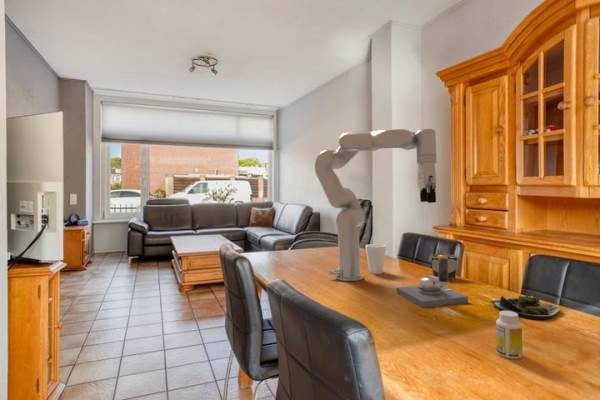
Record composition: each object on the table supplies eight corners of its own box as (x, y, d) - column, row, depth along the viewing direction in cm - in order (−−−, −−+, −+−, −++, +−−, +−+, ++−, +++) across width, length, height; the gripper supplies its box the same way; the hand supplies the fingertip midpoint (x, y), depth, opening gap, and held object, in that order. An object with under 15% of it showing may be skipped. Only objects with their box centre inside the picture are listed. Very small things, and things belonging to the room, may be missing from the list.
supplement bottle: (524, 353, 88) (524, 312, 87) (519, 362, 84) (519, 319, 83) (499, 347, 91) (499, 307, 91) (493, 355, 87) (492, 313, 87)
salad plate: (513, 297, 132) (513, 285, 131) (570, 310, 117) (570, 296, 116) (484, 308, 121) (484, 295, 121) (543, 324, 106) (543, 309, 106)
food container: (454, 275, 164) (454, 253, 164) (459, 278, 158) (458, 256, 157) (426, 275, 165) (426, 253, 165) (430, 278, 159) (430, 256, 159)
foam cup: (362, 271, 176) (361, 245, 175) (377, 269, 180) (377, 243, 179) (374, 275, 167) (373, 247, 167) (390, 273, 171) (389, 246, 171)
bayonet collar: (414, 287, 135) (413, 251, 135) (435, 285, 137) (435, 249, 137) (434, 298, 123) (434, 257, 122) (457, 295, 125) (457, 255, 124)
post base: (422, 307, 122) (422, 299, 122) (396, 292, 140) (396, 285, 140) (467, 302, 126) (467, 294, 126) (437, 288, 144) (437, 281, 144)
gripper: (411, 162, 154) (413, 201, 155) (423, 158, 137) (424, 203, 137) (429, 161, 154) (430, 201, 154) (443, 157, 137) (444, 202, 137)
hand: (428, 202), depth 146 cm, fingers open, 9 cm apart
